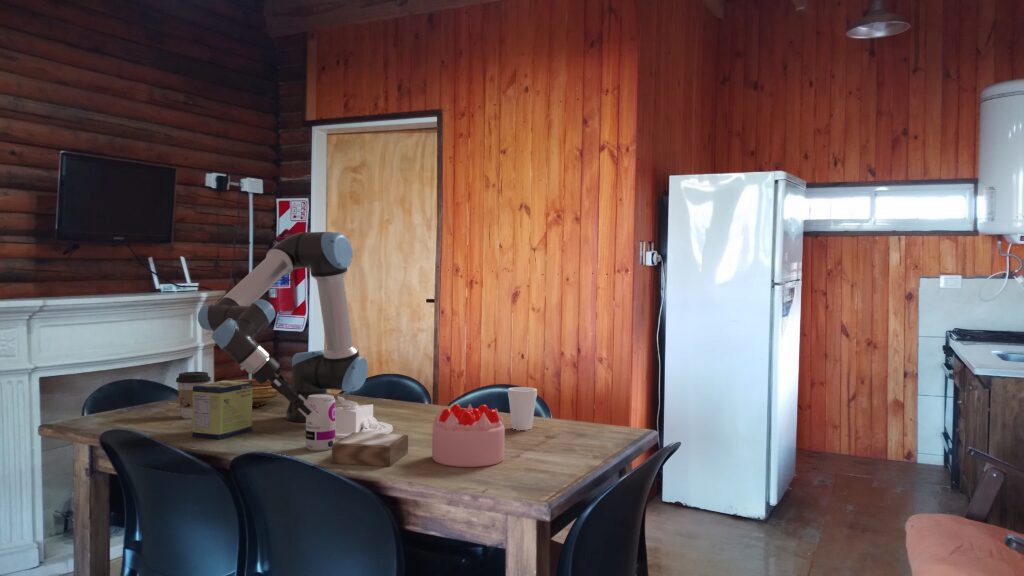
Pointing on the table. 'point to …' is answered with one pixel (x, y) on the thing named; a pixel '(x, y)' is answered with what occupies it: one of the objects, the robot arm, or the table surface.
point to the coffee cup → (189, 390)
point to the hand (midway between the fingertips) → (315, 417)
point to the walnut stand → (370, 449)
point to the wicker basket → (261, 392)
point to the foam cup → (522, 406)
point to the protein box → (222, 409)
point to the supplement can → (321, 423)
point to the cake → (468, 437)
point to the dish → (357, 420)
